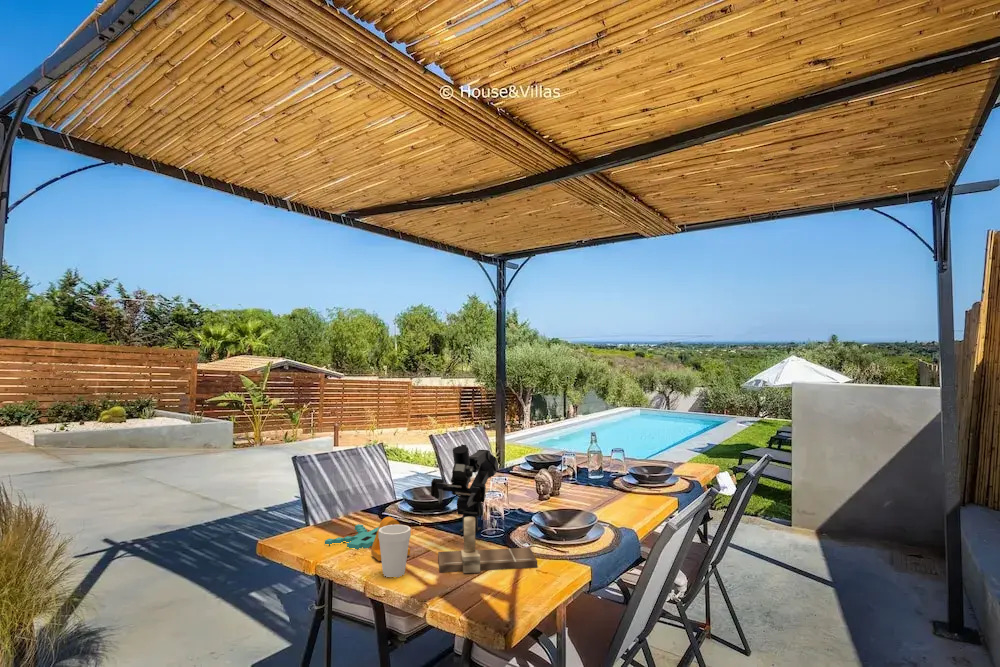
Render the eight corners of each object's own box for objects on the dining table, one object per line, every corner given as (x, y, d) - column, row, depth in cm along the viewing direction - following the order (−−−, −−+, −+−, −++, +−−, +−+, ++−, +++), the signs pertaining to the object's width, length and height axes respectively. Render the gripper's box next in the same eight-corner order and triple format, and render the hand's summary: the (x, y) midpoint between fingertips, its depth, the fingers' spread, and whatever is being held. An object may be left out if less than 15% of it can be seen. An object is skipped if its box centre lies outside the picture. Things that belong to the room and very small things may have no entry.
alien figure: (324, 547, 183) (375, 554, 176) (324, 540, 183) (375, 547, 176) (358, 530, 202) (404, 536, 195) (358, 524, 202) (405, 529, 195)
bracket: (378, 564, 166) (379, 524, 167) (371, 556, 172) (371, 519, 173) (410, 557, 172) (411, 519, 173) (402, 550, 178) (403, 514, 179)
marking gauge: (463, 573, 158) (463, 526, 159) (460, 560, 168) (461, 516, 169) (480, 572, 159) (480, 525, 160) (476, 560, 169) (476, 516, 170)
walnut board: (439, 572, 159) (439, 565, 159) (438, 558, 171) (438, 551, 171) (537, 567, 164) (537, 560, 164) (529, 553, 175) (529, 547, 176)
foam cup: (371, 575, 157) (372, 530, 158) (393, 565, 165) (394, 522, 165) (394, 582, 152) (395, 536, 153) (416, 572, 159) (417, 528, 160)
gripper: (436, 455, 189) (426, 480, 174) (488, 461, 187) (482, 486, 172) (436, 483, 192) (425, 509, 177) (487, 488, 190) (481, 515, 176)
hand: (453, 504), depth 176 cm, fingers open, 9 cm apart
